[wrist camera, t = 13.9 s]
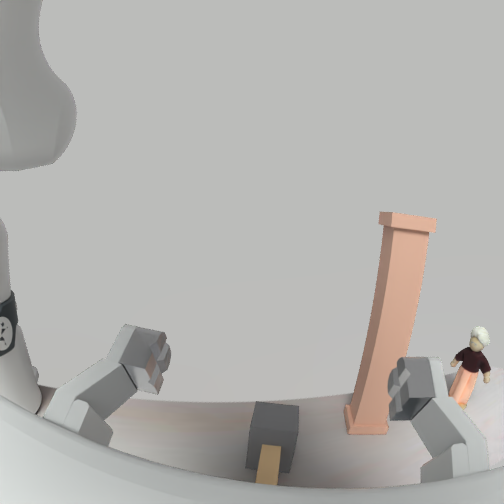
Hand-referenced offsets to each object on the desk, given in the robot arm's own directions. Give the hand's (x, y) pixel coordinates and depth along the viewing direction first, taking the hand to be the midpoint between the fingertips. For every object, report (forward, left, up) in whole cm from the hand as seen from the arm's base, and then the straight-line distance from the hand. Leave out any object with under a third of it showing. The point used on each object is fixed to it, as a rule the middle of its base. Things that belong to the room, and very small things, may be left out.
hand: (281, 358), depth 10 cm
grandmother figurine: (+28, +27, -21) cm, 44 cm away
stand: (+12, +24, -20) cm, 33 cm away
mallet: (0, +11, -21) cm, 23 cm away
